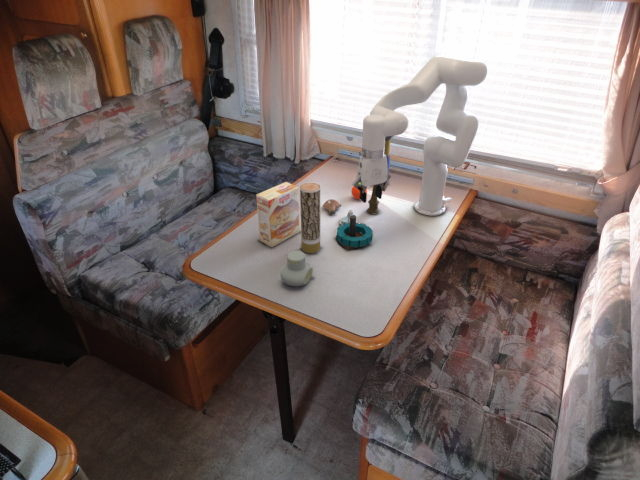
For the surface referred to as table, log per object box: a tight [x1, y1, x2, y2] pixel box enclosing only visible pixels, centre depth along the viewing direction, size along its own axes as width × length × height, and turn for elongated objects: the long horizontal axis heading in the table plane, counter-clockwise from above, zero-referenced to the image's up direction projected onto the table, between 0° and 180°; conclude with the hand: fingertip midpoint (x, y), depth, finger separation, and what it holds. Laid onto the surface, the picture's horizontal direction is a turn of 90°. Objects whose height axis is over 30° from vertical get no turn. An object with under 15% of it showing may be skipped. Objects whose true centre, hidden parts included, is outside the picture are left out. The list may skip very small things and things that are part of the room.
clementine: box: [350, 182, 368, 200], centre depth 195 cm, size 8×7×7 cm
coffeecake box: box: [255, 181, 300, 248], centre depth 164 cm, size 15×7×20 cm, turn 137°
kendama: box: [366, 181, 389, 215], centre depth 180 cm, size 6×10×20 cm, turn 69°
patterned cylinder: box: [299, 182, 321, 254], centre depth 156 cm, size 7×7×25 cm
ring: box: [336, 222, 374, 248], centre depth 166 cm, size 13×13×3 cm
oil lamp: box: [322, 198, 342, 216], centre depth 186 cm, size 9×4×8 cm
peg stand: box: [335, 214, 369, 251], centre depth 164 cm, size 9×9×10 cm
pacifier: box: [338, 209, 358, 226], centre depth 177 cm, size 7×6×6 cm
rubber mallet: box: [384, 136, 395, 183], centre depth 201 cm, size 12×8×30 cm, turn 156°
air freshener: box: [279, 250, 314, 287], centre depth 144 cm, size 11×8×10 cm
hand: (370, 198), depth 161 cm, fingers open, 5 cm apart
